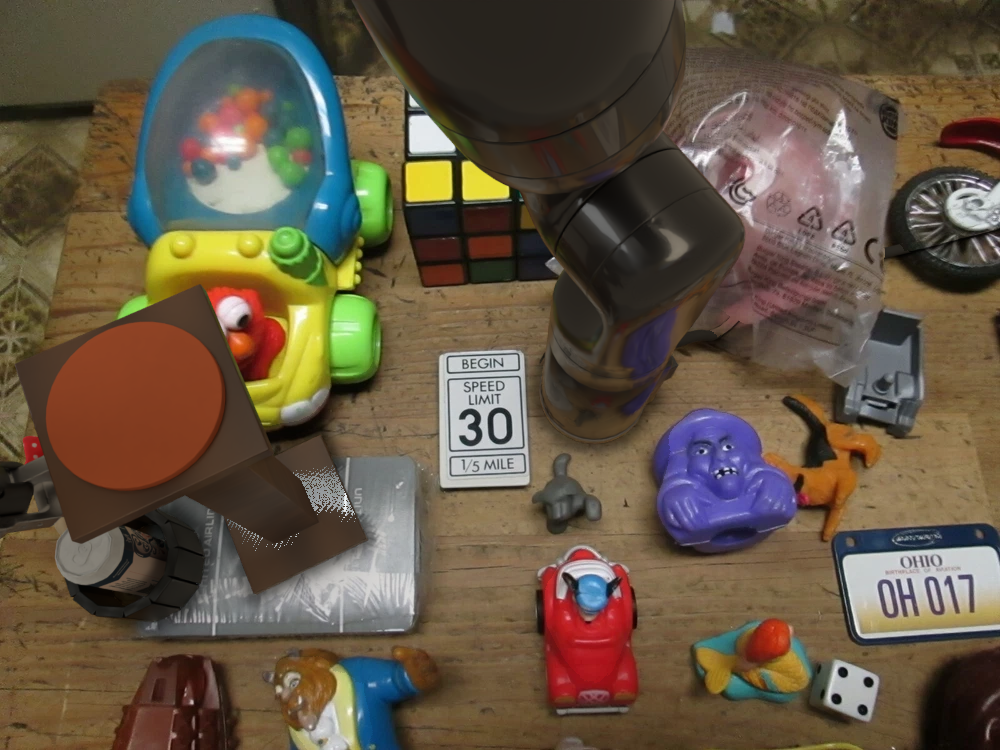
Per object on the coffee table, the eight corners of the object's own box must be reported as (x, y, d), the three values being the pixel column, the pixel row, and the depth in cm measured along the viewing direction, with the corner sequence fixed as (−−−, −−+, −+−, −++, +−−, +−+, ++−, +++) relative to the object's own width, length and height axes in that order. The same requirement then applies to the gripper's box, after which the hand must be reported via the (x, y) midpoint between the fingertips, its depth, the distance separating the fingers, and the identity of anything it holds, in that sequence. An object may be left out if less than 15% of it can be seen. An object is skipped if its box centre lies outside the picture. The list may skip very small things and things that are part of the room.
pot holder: (192, 299, 43) (187, 294, 43) (251, 443, 41) (247, 439, 40) (30, 369, 42) (24, 365, 41) (81, 521, 39) (74, 519, 39)
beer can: (190, 547, 70) (129, 524, 58) (167, 604, 68) (100, 591, 57) (137, 531, 70) (66, 506, 59) (113, 587, 69) (36, 572, 57)
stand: (322, 437, 73) (200, 283, 44) (368, 540, 70) (269, 449, 41) (214, 487, 71) (13, 363, 42) (256, 595, 68) (71, 541, 39)
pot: (184, 498, 71) (156, 484, 65) (218, 591, 68) (192, 584, 63) (86, 544, 70) (50, 533, 64) (118, 640, 67) (83, 637, 62)
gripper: (-292, 637, 35) (-53, 647, 51) (35, 488, 38) (170, 541, 53) (-319, 482, 38) (-82, 536, 53) (-9, 350, 40) (132, 439, 55)
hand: (43, 538), depth 53 cm, fingers open, 8 cm apart
